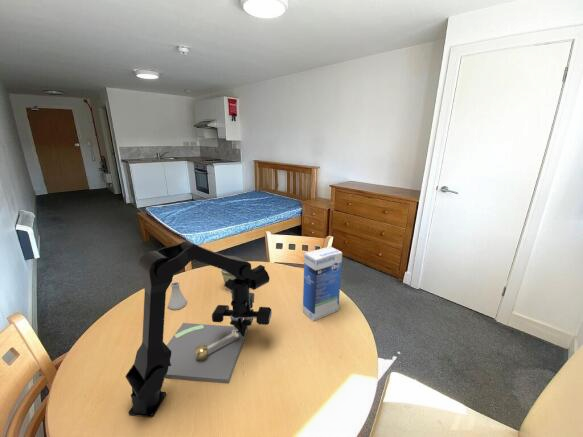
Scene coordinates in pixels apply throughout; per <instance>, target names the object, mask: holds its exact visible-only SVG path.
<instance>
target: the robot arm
mask: <svg viewBox="0 0 583 437" xmlns="http://www.w3.org/2000/svg"><path fill="white" fill-rule="evenodd" d="M192 261H196V262H199V263H202V264H205V265H208V266H211V267H214V268H217V269H220V270H221V269H222V270H224V271H225V272H227V273H229V274H231V275H232V276H234V277H236V278H234V279H232V280H231V279H229V280H228V281H227V282H226V283H224V285H223V286H224V287H225V288H226V287H227V288H228V289H230V290H231V291H230V293H231V302H230V306H231V307H232V309H230V306H229V305H227V304H226V305H225V304H218V305H216V307H215V308H214V310H213V312H212V313H211V321H212V322H213V323H222V322H223V321H224V317H229V319H230V322H229V324H230V326H234V327H235V328H236V329H237V330H238V331H239V332H240V333H241V335H242V336H243V337H244V336H245V333H246V329H247V327H249V326H251V325H252V324H253V321H254V319H256V320H255V321H256V323H257V325H260V326H261V325H263V326H264V325H265V326H268V325H270V323H271V322H270V321H271V317H272V314H273V312H272V309H271V307H269V306H259V307H258V310H257V311H255V310H254V309H253V306H254V303H255V293H254V292H251V291H250V290H253V291H255V290H257V289H259V288H261V287H262V286H264V285H266V284H268V283H269V282H270V276H269V273H268V272H267V270H266V267H265V265H262V264H259V265H258V266H256V267H254V268H252V263H250V262H249V261H247V260H244V259H242V258H240V257H238V256H235V255H225V254H222V253H218V252H215V251H213V250H210V249H207V248H205V247H202V246H201V245H200V246H199V244H196V243H195V242H192V241H190V240H184V241H182V242H179V243H177V244H174V245H169V246H166V247H161V248H159V249H157V250H151V251H148V252H146V253H144V254H143V255H142V256H141V257H139V261H138V269H139V277H140V279H141V280H140V281H141V283H142V286H143V288H144V300H143V319H142V323H143V324H142V342H141V344H140V346H139V348H138V349H137V350H136V354H135V357H134V358H135V359H134V362H133V363H132V366H131V367H130V368H129V370H128V371H127V373H126V374H125V379H126V380H127V382H128V383H129V385H130V388H131V394H130V396H131V402H132V406H131V408H130V409H129V410H128V415H129V416H137V417H138V416H139V417H148V418H152V417H154V416H155V414H157V411H158V409H159V407H160V406H161V404H162V403H163V400H164V399H165V397H166V396H167V391H162V388H163V384H164V380H165V378H164V377H165V375H166V374H167V372H168V366H171V363H170V358H171V350H170V349H169V348H168V347H167V346H166V345H167V344H165V342H164V330H165V327H164V326H165V315H166V314H165V312H166V300H167V298H166V297H167V296H166V295H167V290H168V288H169V287H170V286H171V283H173V277H174V274H177V273H179V272H181V271H182V270H184V269H185V267H187V265H189V263H190V262H192ZM245 337H246V336H245Z"/></svg>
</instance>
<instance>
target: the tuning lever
mask: <svg viewBox="0 0 583 437" xmlns="http://www.w3.org/2000/svg"><path fill="white" fill-rule="evenodd" d="M239 339H240V332H239V331H238V330H237V329H236V328H235V329H233V330H232V334H230V335H228V336H226V337H224V338H222V339H221V340H219V341H217V342H215V343H213V344H211V345H209V346H207V345H204V344H203V345H199V346H197V347H196V349H195V354H196V359H197V360H198V361H203V360H205V359H206V358H207V357H208V354H210V353H212V352H214V351H216V350H218V349H219V348H221V347H223V346H225V345H227V344H229V343H230V342H232V341H237V340H239Z"/></svg>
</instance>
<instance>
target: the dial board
mask: <svg viewBox="0 0 583 437" xmlns="http://www.w3.org/2000/svg"><path fill="white" fill-rule="evenodd" d="M248 327H249V326H247V329H246V333H245V336H244V337H243V336H242V335H241V333H240V339H239V340H237V341H232V342H230V343H229V344H227V345H225V346H223V347H221V348H219V349H218V350H216V351H214V352H212V353H210V354H208V357H207V358H206V359H205V360H203V361H198V360H197V359H196V354H195V349H196V347H197V346H199V345H203V344H204V345H207V346H209V345H211V344H213V343H215V342H217V341H219V340H221V339H222V338H224V337H226V336H228V335H230V334H232V330H233V329H235V327H234V326H233V325H220V324H219V325H218V324H217V325H216V324H203V323H193V322H192V323H191V322H182V324H181V326H180V327H179V328H178V329H177V330H176V331H175V333H174V335H173V336H172V337H171V339H170V340H169V342H168V343H167V344H166V346H167V347H168V348H169V349H170V350H171V358H170V363H171V366H168V372H167V374H166V375H165V377H164V379H167V378H168V379H178V380H190V381H200V382H209V383H210V382H211V383H222V384H229V383H230V380H231V378H232V375H233V372H234V369H235V368H236V364H237V362H238V358H239V356H240V353H241V350H242V348H243V344H244V343H245V342H244V341H245V339H246V336H247V333H248V331H249V330H248V329H249V328H248Z"/></svg>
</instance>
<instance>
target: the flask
mask: <svg viewBox="0 0 583 437" xmlns="http://www.w3.org/2000/svg"><path fill="white" fill-rule="evenodd" d="M170 287H171V294H170V298H169V301H168V305H167V309H169V310H173V311H175V310H176V311H177V310H181V309H183V308H184V307H186V305H187V304H188V301H187V299H186V298H185V296H184V294H183V293H182V291H181V287H180V282H179V281H172V282H171V284H170Z"/></svg>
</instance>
